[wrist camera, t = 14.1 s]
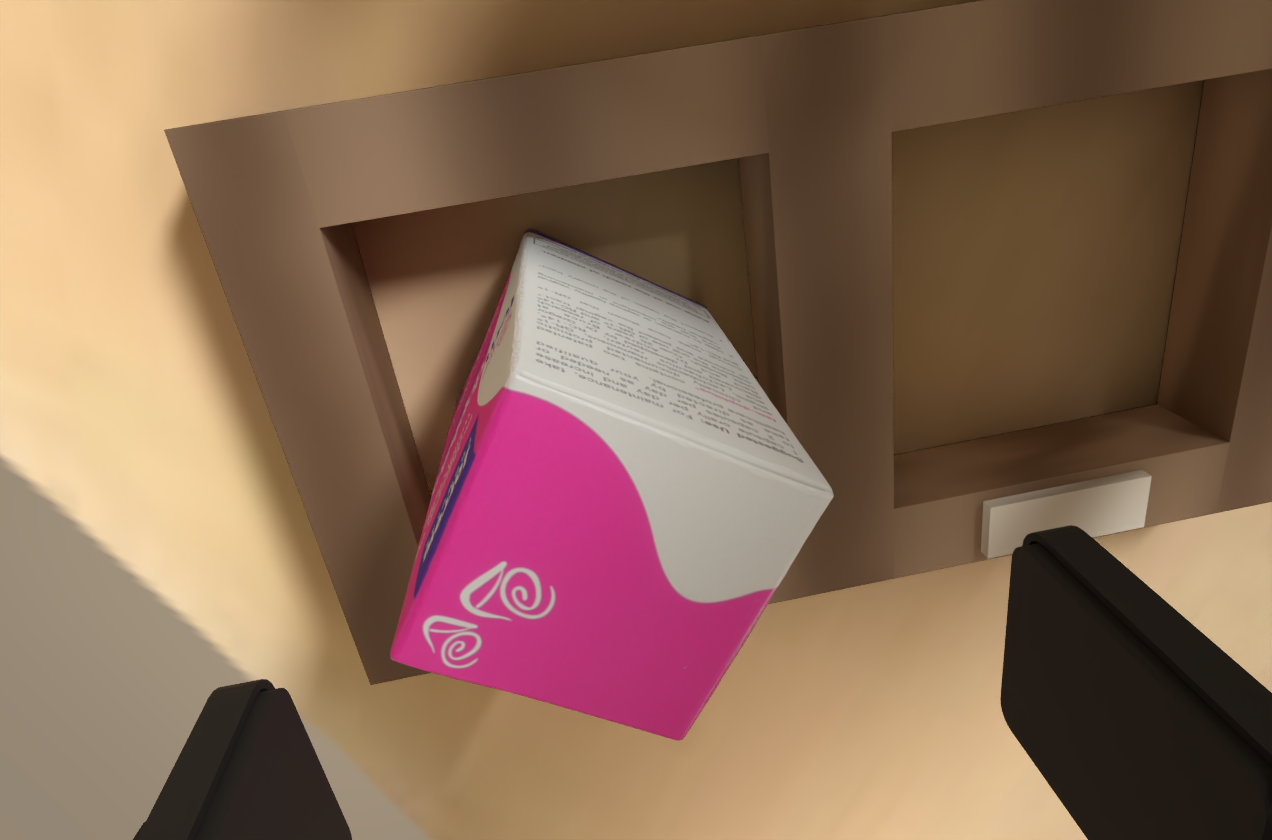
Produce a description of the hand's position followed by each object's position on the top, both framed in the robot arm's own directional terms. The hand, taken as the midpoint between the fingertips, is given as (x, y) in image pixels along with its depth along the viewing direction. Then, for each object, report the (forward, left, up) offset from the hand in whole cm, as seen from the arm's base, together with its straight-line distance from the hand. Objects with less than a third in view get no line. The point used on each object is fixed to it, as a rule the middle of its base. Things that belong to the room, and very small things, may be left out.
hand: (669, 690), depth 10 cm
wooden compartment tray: (-6, 0, -14) cm, 16 cm away
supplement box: (0, 0, -14) cm, 14 cm away
